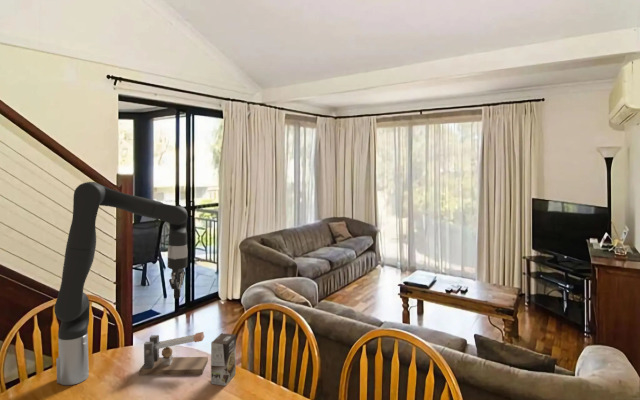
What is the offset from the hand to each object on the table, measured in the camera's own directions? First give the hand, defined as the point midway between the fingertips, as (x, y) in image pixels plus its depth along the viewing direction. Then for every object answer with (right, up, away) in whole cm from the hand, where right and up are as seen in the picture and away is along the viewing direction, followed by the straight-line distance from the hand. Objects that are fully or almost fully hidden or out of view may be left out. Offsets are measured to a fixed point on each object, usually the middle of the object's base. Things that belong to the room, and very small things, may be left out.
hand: (177, 297), depth 153 cm
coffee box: (+21, -30, -8) cm, 37 cm away
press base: (-1, -28, -1) cm, 28 cm away
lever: (0, -18, -1) cm, 18 cm away
